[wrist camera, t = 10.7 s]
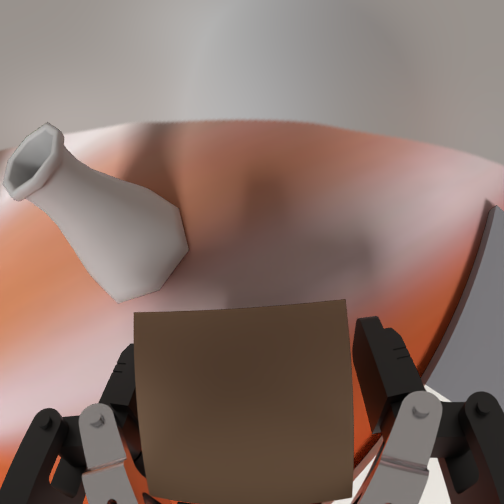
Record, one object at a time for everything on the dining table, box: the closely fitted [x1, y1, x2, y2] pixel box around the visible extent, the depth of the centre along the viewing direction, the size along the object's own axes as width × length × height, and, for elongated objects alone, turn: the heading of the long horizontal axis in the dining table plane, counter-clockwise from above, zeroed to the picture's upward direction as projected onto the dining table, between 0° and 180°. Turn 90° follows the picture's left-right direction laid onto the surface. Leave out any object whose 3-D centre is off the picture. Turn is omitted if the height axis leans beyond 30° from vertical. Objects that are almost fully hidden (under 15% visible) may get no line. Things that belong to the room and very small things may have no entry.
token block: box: [134, 299, 354, 504], centre depth 10 cm, size 4×4×10 cm
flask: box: [3, 122, 189, 303], centre depth 13 cm, size 7×7×10 cm
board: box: [321, 205, 504, 504], centre depth 11 cm, size 26×13×1 cm, turn 143°
